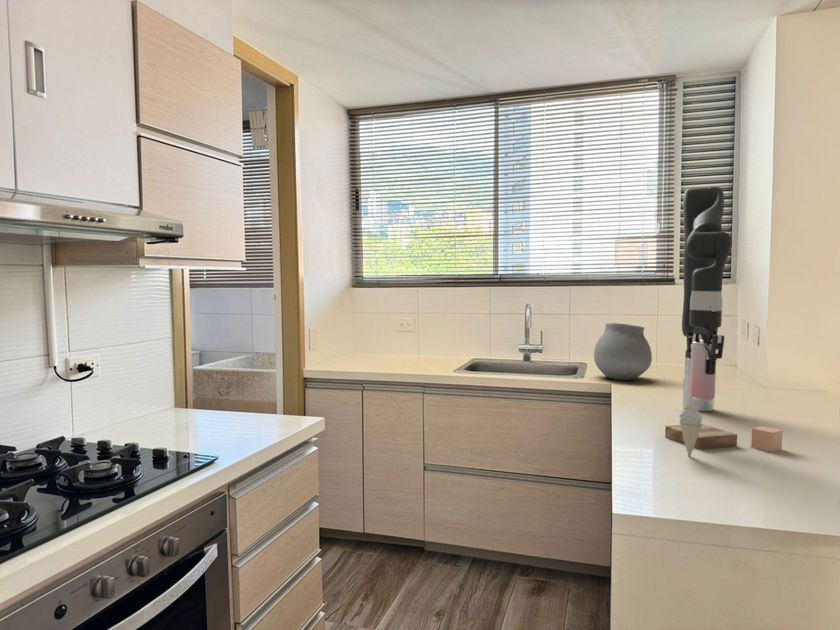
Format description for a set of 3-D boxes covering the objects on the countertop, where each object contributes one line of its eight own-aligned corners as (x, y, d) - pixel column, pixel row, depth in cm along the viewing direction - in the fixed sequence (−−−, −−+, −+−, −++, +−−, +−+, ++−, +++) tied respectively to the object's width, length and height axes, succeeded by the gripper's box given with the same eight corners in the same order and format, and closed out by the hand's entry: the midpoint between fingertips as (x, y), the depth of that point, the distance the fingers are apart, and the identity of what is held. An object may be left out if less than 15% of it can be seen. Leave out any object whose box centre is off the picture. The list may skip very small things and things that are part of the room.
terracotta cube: (751, 447, 143) (751, 428, 143) (760, 444, 146) (761, 425, 145) (771, 452, 139) (772, 432, 138) (781, 449, 141) (782, 430, 141)
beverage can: (692, 395, 151) (694, 340, 150) (716, 398, 147) (719, 342, 147) (686, 398, 147) (689, 342, 146) (711, 402, 143) (714, 344, 142)
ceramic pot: (657, 384, 235) (659, 325, 234) (597, 382, 239) (599, 324, 238) (643, 376, 259) (645, 322, 258) (589, 373, 263) (591, 321, 262)
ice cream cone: (674, 456, 134) (677, 394, 133) (682, 451, 138) (685, 391, 137) (696, 460, 130) (699, 397, 130) (704, 456, 134) (706, 394, 133)
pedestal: (665, 436, 151) (665, 426, 151) (700, 434, 155) (700, 423, 155) (699, 449, 140) (700, 437, 140) (736, 446, 144) (737, 434, 143)
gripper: (677, 307, 153) (675, 368, 154) (707, 309, 138) (704, 376, 139) (704, 307, 153) (701, 368, 154) (736, 310, 139) (733, 377, 140)
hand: (703, 372), depth 147 cm, fingers closed on beverage can, 6 cm apart
